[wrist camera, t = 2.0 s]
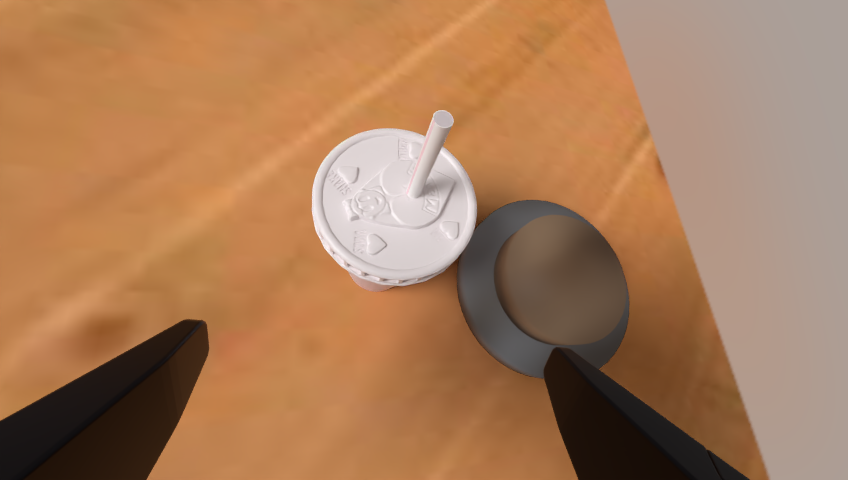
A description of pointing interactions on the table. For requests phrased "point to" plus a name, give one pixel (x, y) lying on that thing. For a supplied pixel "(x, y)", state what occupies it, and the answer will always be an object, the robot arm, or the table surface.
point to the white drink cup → (394, 205)
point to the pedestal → (542, 287)
